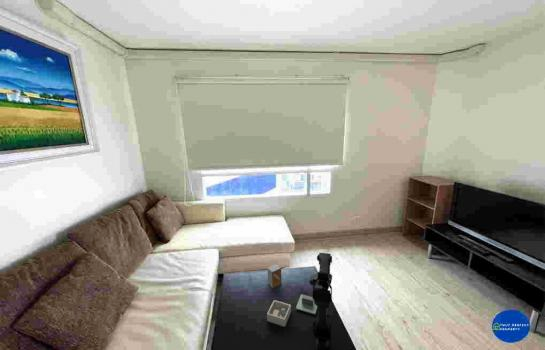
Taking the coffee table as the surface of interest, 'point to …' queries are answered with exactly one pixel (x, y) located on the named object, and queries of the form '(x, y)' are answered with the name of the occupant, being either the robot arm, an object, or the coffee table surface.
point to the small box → (274, 275)
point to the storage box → (279, 313)
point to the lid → (306, 304)
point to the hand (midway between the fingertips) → (324, 297)
